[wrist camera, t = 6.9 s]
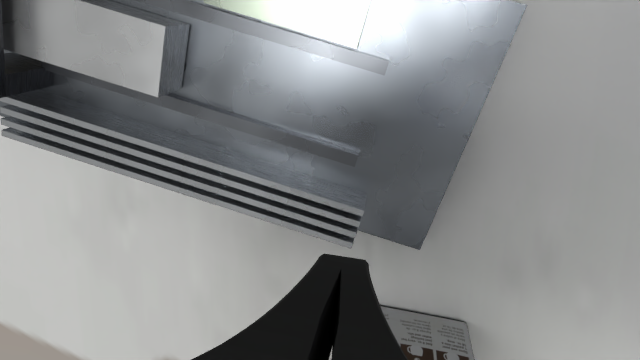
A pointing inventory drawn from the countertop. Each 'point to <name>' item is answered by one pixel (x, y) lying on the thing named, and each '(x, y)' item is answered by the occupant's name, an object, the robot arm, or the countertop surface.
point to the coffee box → (429, 336)
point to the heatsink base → (287, 109)
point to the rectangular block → (100, 41)
